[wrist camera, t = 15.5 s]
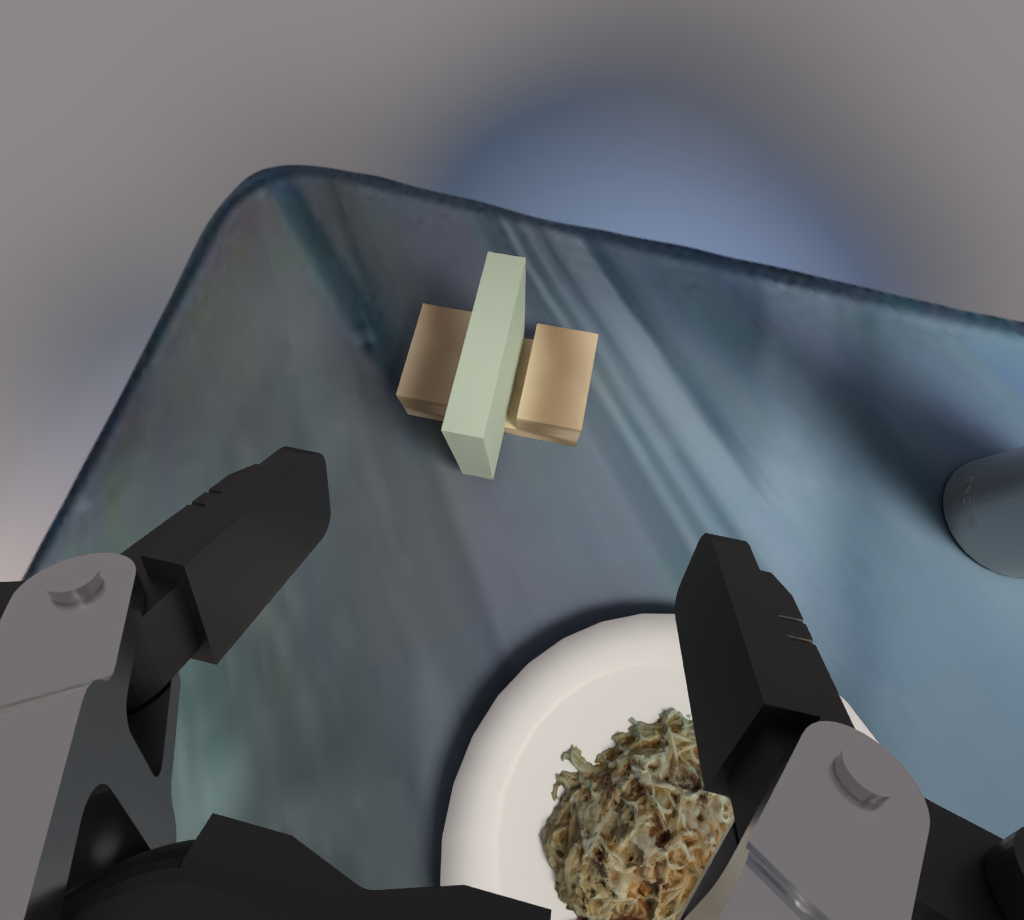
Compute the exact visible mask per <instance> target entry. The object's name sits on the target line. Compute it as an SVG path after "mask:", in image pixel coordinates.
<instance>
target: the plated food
mask: <svg viewBox="0 0 1024 920" xmlns="http://www.w3.org/2000/svg"><path fill="white" fill-rule="evenodd" d="M839 696H840V695H839ZM840 698H841V700H842V702H843V704H844V706H845V708H846V710H847V713H848V715H849V717H850V719H851V721H852V723H853V725H854V727H855V729H856V730H858V731H860V732H862V733H864V734H866V735H867V736H869V737H870V738H872V739H873V740H875V741H876V742H877V740H876V739H875V738H874V736H873V735H872V734H871V733H870V731H869V730H868V729H867V727H866V726H865V725H864V724H863V722H862V721H861V720H860V718H859V717H858V716H857V714H856V713H855V712H854V711H853V709H852V708H851V707H850V705H849V704H848V703H847V702H846V701H845V700H844V699H843V698H842V697H841V696H840ZM877 743H878V742H877ZM733 819H734V814H733V809H732V804H731V799H730V797H727V796H723V795H719V794H715V793H711V792H707V791H704V786H703V780H702V774H701V768H700V762H699V756H698V750H697V744H696V739H695V733H694V727H693V721H692V715H691V709H690V703H689V697H688V691H687V685H686V679H685V673H684V667H683V661H682V655H681V650H680V644H679V638H678V632H677V626H676V620H675V614H644V613H642V614H637V615H632V616H627V617H622V618H617V619H612V620H607V621H602V622H599V623H597V624H595V625H593V626H590V627H588V628H586V629H583V630H581V631H579V632H576V633H574V634H572V635H569V636H567V637H565V638H563V639H561V640H560V641H559V642H557V643H556V644H554V645H553V646H552V647H550V648H549V649H547V650H546V651H545V652H543V653H542V654H540V655H539V656H537V657H536V658H535V659H533V660H532V661H530V662H529V663H528V664H527V665H526V666H525V667H524V668H523V669H522V670H521V671H520V672H519V674H518V675H517V676H516V677H515V678H514V679H513V680H512V681H511V682H510V683H509V684H508V685H507V686H506V687H505V688H504V690H503V691H502V692H501V693H500V694H499V695H498V696H497V698H496V699H495V701H494V703H493V704H492V706H491V707H490V709H489V710H488V712H487V714H486V715H485V717H484V718H483V720H482V722H481V723H480V725H479V726H478V728H477V730H476V731H475V733H474V734H473V736H472V739H471V741H470V744H469V746H468V749H467V751H466V754H465V756H464V759H463V761H462V764H461V766H460V769H459V771H458V774H457V776H456V779H455V781H454V784H453V788H452V793H451V798H450V803H449V807H448V812H447V817H446V822H445V826H444V831H443V836H442V853H441V876H440V886H450V885H467V886H471V887H474V888H478V889H481V890H485V891H488V892H492V893H495V894H499V895H502V896H506V897H509V898H513V899H516V900H520V901H523V902H527V903H530V904H534V905H537V906H541V907H544V908H548V909H551V920H675V919H676V918H677V916H678V914H679V912H680V910H681V909H682V907H683V905H684V903H685V902H686V900H687V898H688V896H689V894H690V893H691V891H692V889H693V887H694V886H695V884H696V882H697V880H698V878H699V877H700V875H701V873H702V871H703V869H704V868H705V866H706V864H707V862H708V861H709V859H710V857H711V855H712V853H713V852H714V850H715V848H716V846H717V845H718V843H719V841H720V839H721V837H722V836H723V834H724V832H725V830H726V829H727V827H728V825H729V824H730V823H731V821H732V820H733Z"/></svg>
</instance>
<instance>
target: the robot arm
mask: <svg viewBox="0 0 1024 920" xmlns="http://www.w3.org/2000/svg"><path fill="white" fill-rule="evenodd" d="M943 508H944V514H945V518H946V521H947V524H948V527H949V529H950V531H951V533H952V534H953V536H954V538H955V539H956V541H957V542H958V544H959V545H960V546H961V547H962V548H963V550H964V551H965V552H966V553H967V554H968V555H969V556H971V557H972V558H973V559H974V560H975V561H976V562H978V563H979V564H981V565H983V566H984V567H986V568H988V569H989V570H991V571H994V572H996V573H999V574H1001V575H1004V576H1008V577H1014V578H1024V446H1023V447H1019V448H1016V449H1012V450H1009V451H1005V452H1002V453H998V454H994V455H991V456H987V457H984V458H980V459H977V460H973V461H970V462H968V463H966V464H964V465H962V466H961V467H960V468H958V469H957V470H956V471H955V472H954V473H953V474H952V476H951V477H950V479H949V480H948V482H947V484H946V487H945V490H944V497H943ZM330 514H331V511H330V500H329V490H328V480H327V470H326V462H325V458H324V457H323V455H322V454H320V453H316V452H311V451H306V450H301V449H296V448H292V447H282V448H280V449H279V450H277V451H276V452H275V453H274V454H272V455H271V456H270V457H268V458H267V459H266V460H264V461H263V462H262V463H260V464H259V465H258V464H254V465H252V466H249V467H247V468H244V469H242V470H240V471H237V472H235V473H232V474H230V475H228V476H227V477H225V478H224V479H223V480H221V481H220V482H219V483H217V484H216V485H214V486H213V487H212V488H210V489H209V492H208V493H206V492H205V493H203V494H202V495H201V496H199V497H198V498H197V499H195V500H194V501H193V502H192V505H187V506H186V507H184V508H183V509H182V510H180V511H179V512H177V513H176V514H175V515H173V516H172V517H171V518H169V519H168V520H166V521H165V522H164V523H162V524H161V525H160V526H158V527H157V528H155V529H154V530H153V531H151V532H150V533H149V534H147V535H146V536H144V537H143V538H142V539H140V540H139V541H138V542H136V543H135V544H133V545H132V546H131V547H129V548H128V549H127V550H125V551H124V552H123V553H121V554H116V553H94V554H87V555H82V556H78V557H74V558H71V559H67V560H64V561H62V562H59V563H57V564H54V565H52V566H50V567H48V568H46V569H44V570H42V571H40V572H39V573H37V574H35V575H34V576H32V577H31V578H29V579H28V580H27V581H17V582H0V920H551V909H548V908H544V907H541V906H537V905H534V904H530V903H527V902H523V901H520V900H516V899H513V898H509V897H506V896H502V895H499V894H495V893H492V892H488V891H485V890H481V889H478V888H474V887H471V886H467V885H450V886H434V887H419V888H404V889H388V890H368V889H364V888H362V887H360V886H358V885H357V884H356V883H354V882H353V881H352V880H350V879H349V878H348V877H346V876H345V875H344V874H342V873H341V872H340V871H338V870H337V869H336V868H334V867H333V866H332V865H330V864H329V863H328V862H326V861H325V860H324V859H322V858H321V857H320V856H318V855H317V854H316V853H314V852H313V851H312V850H310V849H309V848H308V847H306V846H305V845H304V844H302V843H301V842H300V841H298V840H297V839H296V838H294V837H293V836H291V835H288V834H284V833H281V832H277V831H274V830H270V829H267V828H263V827H260V826H256V825H253V824H249V823H246V822H242V821H239V820H235V819H232V818H228V817H225V816H221V815H218V814H214V813H213V814H212V815H211V817H210V818H209V820H208V822H207V823H206V825H205V826H204V828H203V829H202V831H201V832H200V834H199V836H198V837H197V839H196V840H188V841H183V842H178V843H176V824H175V816H174V811H173V806H172V798H171V779H172V768H173V758H174V747H175V736H176V725H177V715H178V704H179V693H180V676H179V673H178V671H179V670H180V669H181V668H182V667H183V666H184V665H185V664H186V662H187V661H188V660H189V659H190V658H192V659H196V660H200V661H204V662H208V663H212V664H216V665H217V664H218V662H219V661H220V660H221V659H222V658H223V656H224V655H225V654H226V653H227V652H228V650H229V649H230V648H231V647H232V646H233V645H234V643H235V642H236V641H237V640H238V639H239V637H240V636H241V635H242V634H243V633H244V631H245V630H246V629H247V628H248V627H249V625H250V624H251V623H252V622H253V621H254V619H255V618H256V617H257V616H258V615H259V613H260V612H261V611H262V610H263V609H264V607H265V606H266V605H267V604H268V603H269V602H270V600H271V599H272V598H273V597H274V596H275V594H276V593H277V592H278V591H279V590H280V588H281V587H282V586H283V585H284V584H285V582H286V581H287V580H288V579H289V578H290V576H291V575H292V574H293V573H294V572H295V570H296V569H297V568H298V567H299V566H300V565H301V563H302V562H303V561H304V560H305V559H306V557H307V556H308V555H309V554H310V553H311V551H312V550H313V549H314V548H315V547H316V545H317V544H318V543H319V542H320V541H321V539H322V538H323V536H324V535H325V533H326V531H327V528H328V525H329V521H330ZM675 620H676V626H677V632H678V638H679V644H680V650H681V655H682V661H683V667H684V673H685V679H686V685H687V691H688V697H689V703H690V709H691V715H692V721H693V727H694V733H695V739H696V744H697V750H698V756H699V762H700V768H701V774H702V780H703V786H704V791H707V792H711V793H715V794H719V795H723V796H727V797H730V799H731V804H732V809H733V814H734V819H733V820H732V821H731V823H730V824H729V825H728V827H727V829H726V830H725V832H724V834H723V836H722V837H721V839H720V841H719V843H718V845H717V846H716V848H715V850H714V852H713V853H712V855H711V857H710V859H709V861H708V862H707V864H706V866H705V868H704V869H703V871H702V873H701V875H700V877H699V878H698V880H697V882H696V884H695V886H694V887H693V889H692V891H691V893H690V894H689V896H688V898H687V900H686V902H685V903H684V905H683V907H682V909H681V910H680V912H679V914H678V916H677V918H676V919H675V920H1024V827H1022V828H1020V829H1019V830H1017V831H1016V832H1014V833H1013V834H1011V835H1010V836H1008V837H1007V838H1005V839H1002V838H1000V837H998V836H996V835H994V834H992V833H990V832H988V831H987V830H985V829H983V828H981V827H979V826H977V825H975V824H973V823H971V822H969V821H967V820H965V819H964V818H962V817H960V816H958V815H956V814H954V813H952V812H950V811H948V810H946V809H944V808H942V807H941V806H939V805H937V804H935V803H933V802H931V801H929V800H928V799H926V798H924V797H923V795H922V793H921V791H920V789H919V787H918V786H917V784H916V783H915V781H914V779H913V778H912V777H911V775H910V774H909V773H908V771H907V770H906V769H905V768H904V767H903V765H902V764H901V763H900V762H899V761H898V760H897V759H896V758H895V757H894V756H893V755H892V754H891V753H890V752H889V751H887V750H886V749H885V748H884V747H883V746H881V745H880V744H879V743H877V742H876V741H875V740H873V739H872V738H870V737H869V736H867V735H866V734H864V733H862V732H860V731H858V730H856V729H855V727H854V725H853V723H852V721H851V719H850V717H849V715H848V713H847V710H846V708H845V706H844V704H843V702H842V700H841V698H840V696H839V694H838V691H837V689H836V687H835V685H834V683H833V681H832V679H831V677H830V675H829V672H828V670H827V668H826V666H825V664H824V662H823V660H822V658H821V656H820V654H819V651H818V649H817V647H816V645H813V644H812V641H813V639H812V637H811V635H810V632H809V630H808V628H807V626H806V624H803V618H802V616H801V613H800V611H799V609H798V607H797V605H796V603H795V601H794V599H793V597H792V595H791V594H790V593H789V592H788V591H787V589H786V588H785V587H784V586H783V585H782V584H781V583H780V582H779V581H778V580H777V579H776V578H775V576H774V575H773V574H772V573H770V572H765V571H760V569H759V567H758V565H757V562H756V560H755V558H754V555H753V553H752V550H751V548H750V546H749V544H748V543H747V542H746V541H743V540H738V539H733V538H728V537H723V536H718V535H713V534H708V533H705V534H704V535H703V536H702V537H701V538H700V540H699V542H698V544H697V547H696V549H695V551H694V554H693V556H692V558H691V561H690V563H689V565H688V568H687V570H686V572H685V575H684V577H683V579H682V581H681V584H680V586H679V589H678V592H677V596H676V603H675Z"/></svg>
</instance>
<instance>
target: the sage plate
mask: <svg viewBox="0 0 1024 920" xmlns="http://www.w3.org/2000/svg"><path fill="white" fill-rule="evenodd" d="M525 276H526V258H523V257H517V256H511V255H505V254H499V253H493V252H488V254H487V258H486V262H485V265H484V269H483V273H482V277H481V281H480V284H479V288H478V292H477V296H476V300H475V303H474V307H473V311H472V315H471V319H470V322H469V326H468V330H467V334H466V338H465V341H464V345H463V349H462V353H461V357H460V360H459V364H458V368H457V372H456V376H455V379H454V383H453V387H452V391H451V394H450V398H449V402H448V406H447V410H446V413H445V417H444V421H443V425H442V429H441V431H442V433H443V435H444V437H445V439H446V441H447V443H448V445H449V447H450V449H451V451H452V453H453V455H454V457H455V459H456V461H457V463H458V465H459V467H460V469H461V471H462V473H463V474H468V475H473V476H478V477H483V478H488V479H493V478H494V474H495V469H496V465H497V460H498V456H499V451H500V447H501V442H502V438H503V433H504V429H505V425H506V420H507V416H508V411H509V407H510V402H511V398H512V393H513V389H514V384H515V380H516V376H517V371H518V367H519V362H520V358H521V353H522V349H523V344H524V326H525Z"/></svg>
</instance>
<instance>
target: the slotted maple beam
mask: <svg viewBox="0 0 1024 920" xmlns="http://www.w3.org/2000/svg"><path fill="white" fill-rule="evenodd" d="M471 315H472V312H470V311H464V310H458V309H453V308H447V307H441V306H436V305H430V304H424V303H423V305H422V309H421V312H420V316H419V319H418V322H417V326H416V329H415V332H414V336H413V339H412V342H411V346H410V349H409V353H408V356H407V359H406V363H405V366H404V369H403V373H402V376H401V379H400V383H399V386H398V389H397V393H396V396H397V398H398V399H399V401H400V402H401V404H402V405H403V407H404V408H405V410H406V412H407V413H408V415H414V416H419V417H424V418H429V419H434V420H439V421H444V417H445V413H446V410H447V406H448V402H449V398H450V394H451V391H452V387H453V383H454V379H455V376H456V372H457V368H458V364H459V360H460V357H461V353H462V349H463V345H464V341H465V338H466V334H467V330H468V326H469V322H470V319H471ZM597 340H598V334H595V333H590V332H584V331H578V330H573V329H567V328H561V327H555V326H550V325H544V324H538V323H537V327H536V332H535V336H534V340H533V339H527V338H524V344H523V349H522V353H521V358H520V362H519V367H518V371H517V376H516V380H515V384H514V389H513V393H512V398H511V402H510V407H509V411H508V416H507V420H506V425H505V429H504V433H507V434H512V435H517V436H522V437H528V438H533V439H538V440H543V441H548V442H553V443H559V444H564V445H569V446H574V447H575V445H576V443H577V440H578V438H579V435H580V433H581V430H582V424H583V419H584V413H585V407H586V402H587V396H588V391H589V385H590V379H591V374H592V368H593V362H594V357H595V351H596V346H597Z"/></svg>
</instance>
